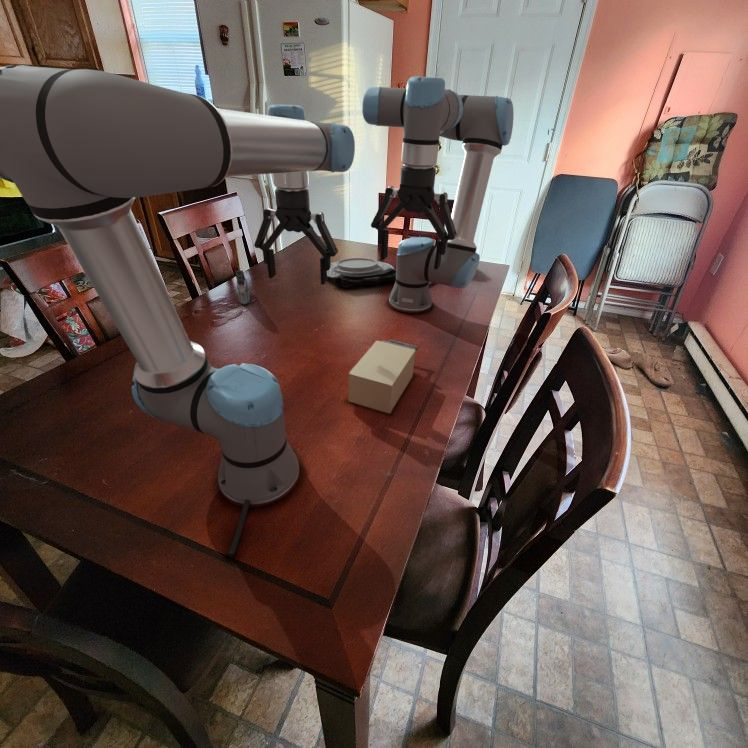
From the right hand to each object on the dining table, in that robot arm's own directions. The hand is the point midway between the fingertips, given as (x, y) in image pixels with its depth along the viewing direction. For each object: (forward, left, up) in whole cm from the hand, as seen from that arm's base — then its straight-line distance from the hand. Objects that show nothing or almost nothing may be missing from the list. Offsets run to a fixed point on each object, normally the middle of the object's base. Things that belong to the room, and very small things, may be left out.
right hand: (410, 262), depth 100 cm
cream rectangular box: (+14, -3, -29) cm, 32 cm away
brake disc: (-60, -27, -29) cm, 72 cm away
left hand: (+5, -27, -6) cm, 28 cm away
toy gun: (-24, -60, -29) cm, 70 cm away
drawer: (+8, -2, -28) cm, 29 cm away
